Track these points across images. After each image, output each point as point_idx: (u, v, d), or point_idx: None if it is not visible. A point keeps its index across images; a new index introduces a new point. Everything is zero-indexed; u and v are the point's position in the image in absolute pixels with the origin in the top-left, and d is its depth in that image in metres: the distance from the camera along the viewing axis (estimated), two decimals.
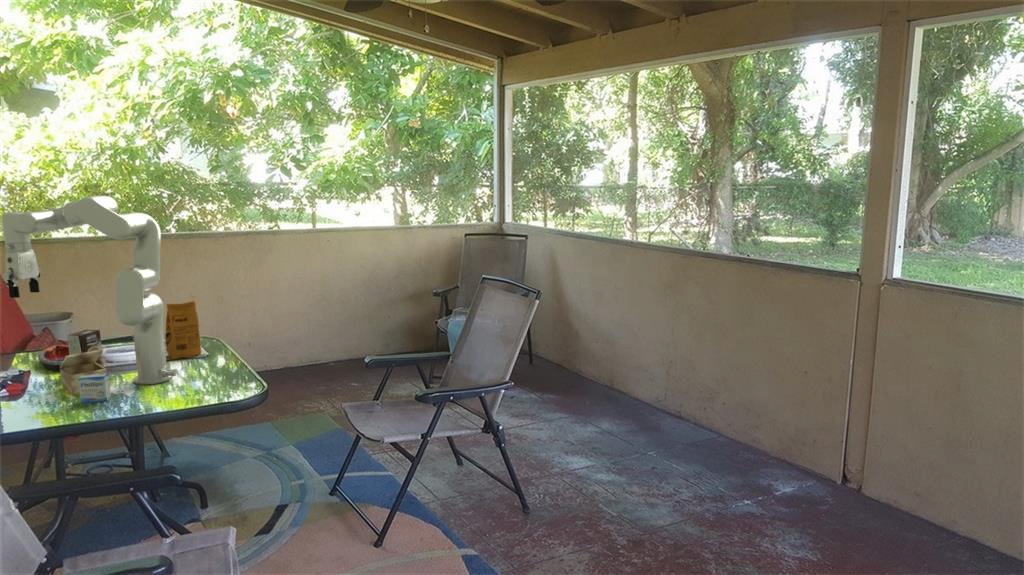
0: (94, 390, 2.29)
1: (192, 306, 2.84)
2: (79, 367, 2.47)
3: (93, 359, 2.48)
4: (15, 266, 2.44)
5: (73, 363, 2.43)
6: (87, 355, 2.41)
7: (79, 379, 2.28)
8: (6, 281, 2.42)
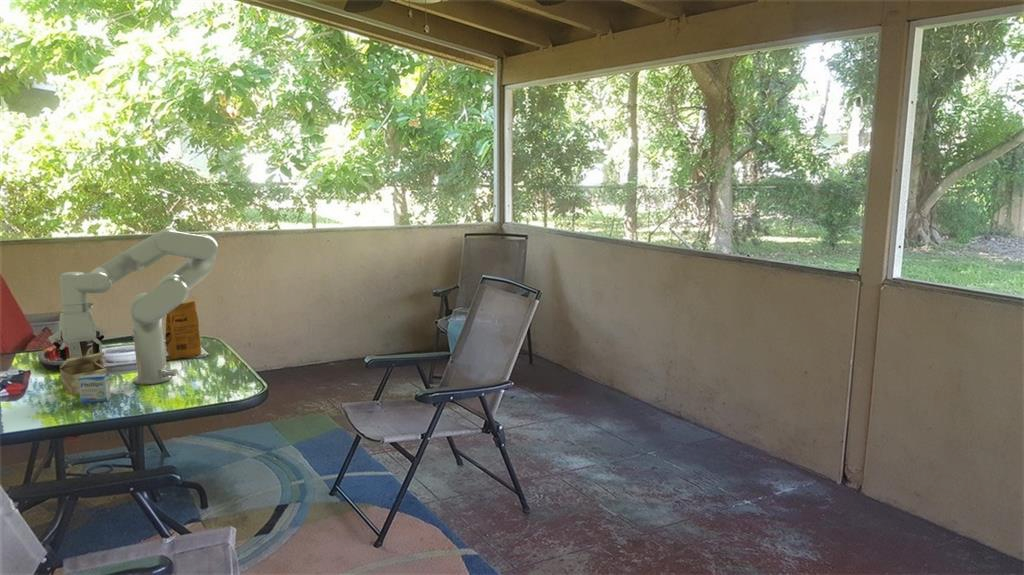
0: (94, 390, 2.29)
1: (192, 306, 2.84)
2: (79, 367, 2.47)
3: (93, 360, 2.48)
4: None
5: (74, 364, 2.43)
6: (88, 358, 2.41)
7: (79, 379, 2.28)
8: None
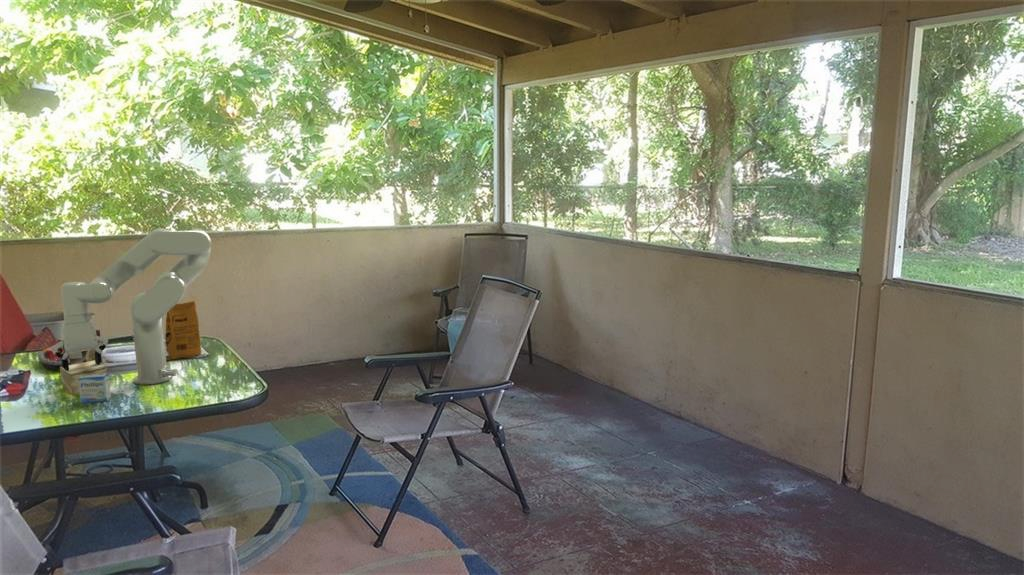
0: (94, 390, 2.29)
1: (192, 306, 2.84)
2: None
3: None
4: None
5: None
6: None
7: (79, 379, 2.28)
8: None
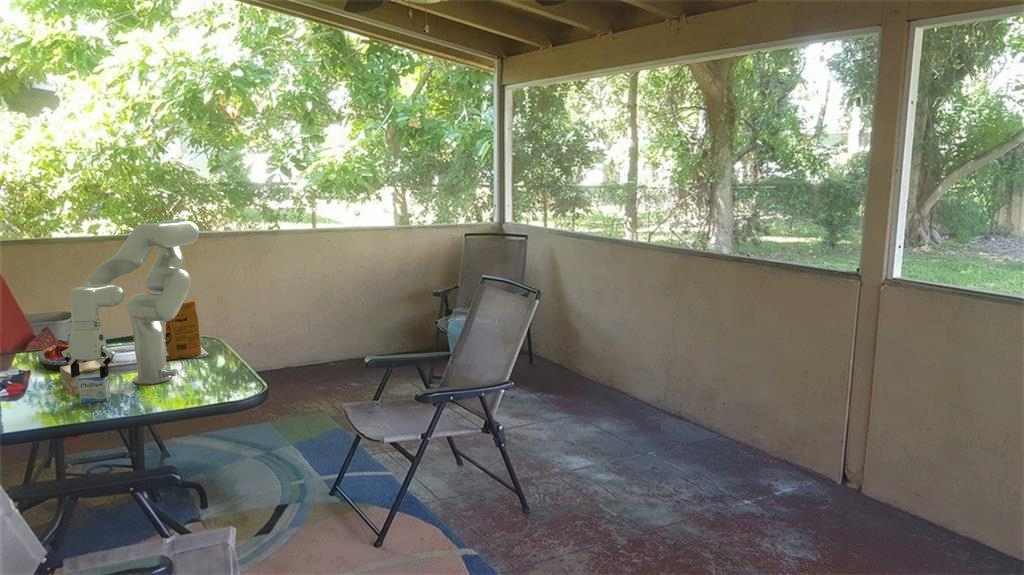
0: (94, 390, 2.29)
1: (192, 306, 2.84)
2: None
3: None
4: (105, 343, 2.29)
5: None
6: None
7: (79, 379, 2.27)
8: (111, 358, 2.28)
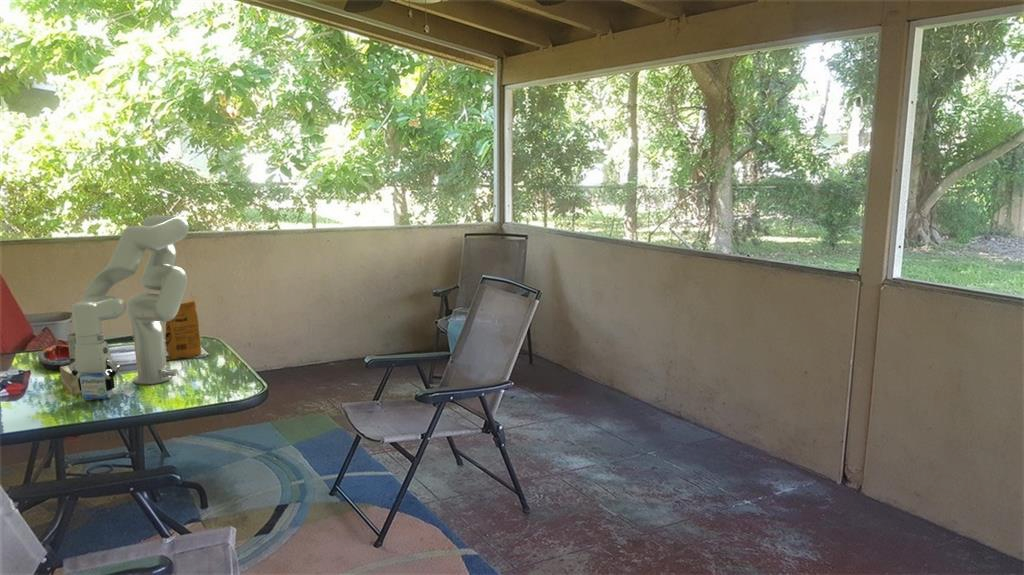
0: (95, 387, 2.30)
1: (192, 306, 2.84)
2: None
3: None
4: (110, 355, 2.31)
5: None
6: None
7: (80, 376, 2.28)
8: (116, 371, 2.30)
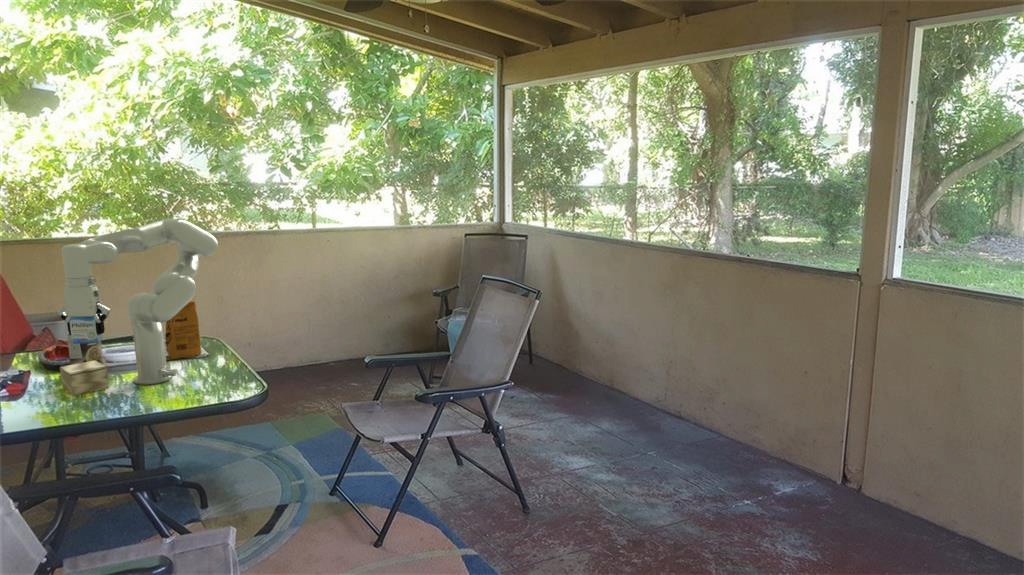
0: (85, 331, 2.29)
1: (192, 306, 2.84)
2: None
3: None
4: (100, 299, 2.31)
5: None
6: None
7: (70, 319, 2.27)
8: (107, 315, 2.30)
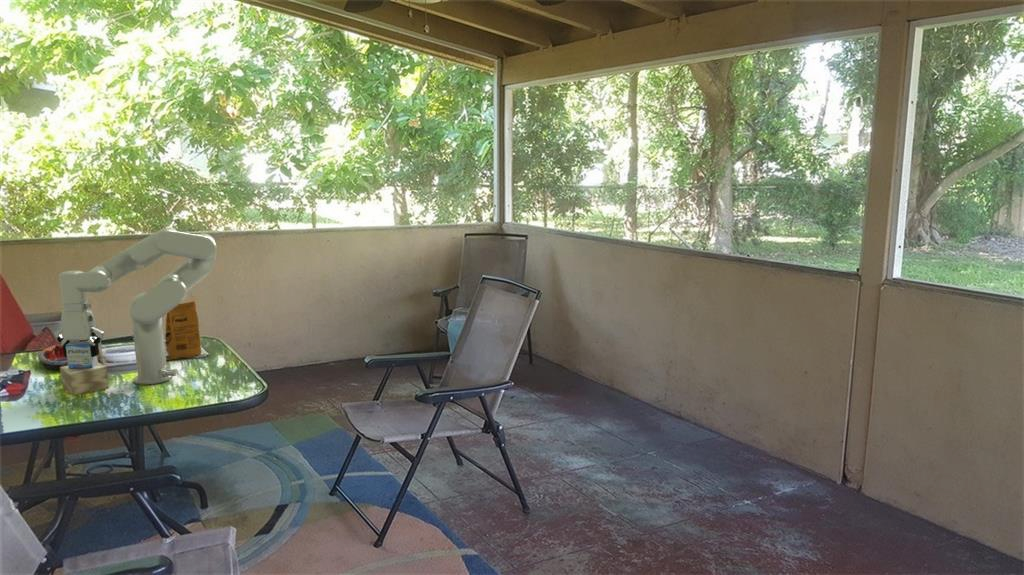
0: (80, 357, 2.40)
1: (192, 306, 2.84)
2: None
3: None
4: (95, 323, 2.42)
5: None
6: None
7: (66, 346, 2.39)
8: (101, 338, 2.41)
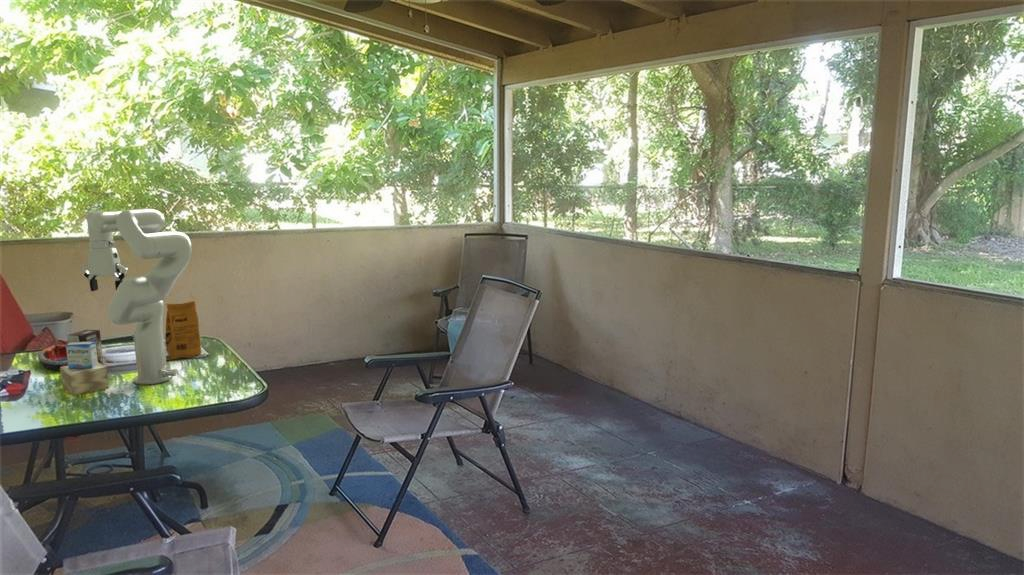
0: (80, 357, 2.40)
1: (192, 306, 2.84)
2: None
3: None
4: (119, 260, 2.61)
5: None
6: None
7: (67, 346, 2.39)
8: (125, 274, 2.60)
